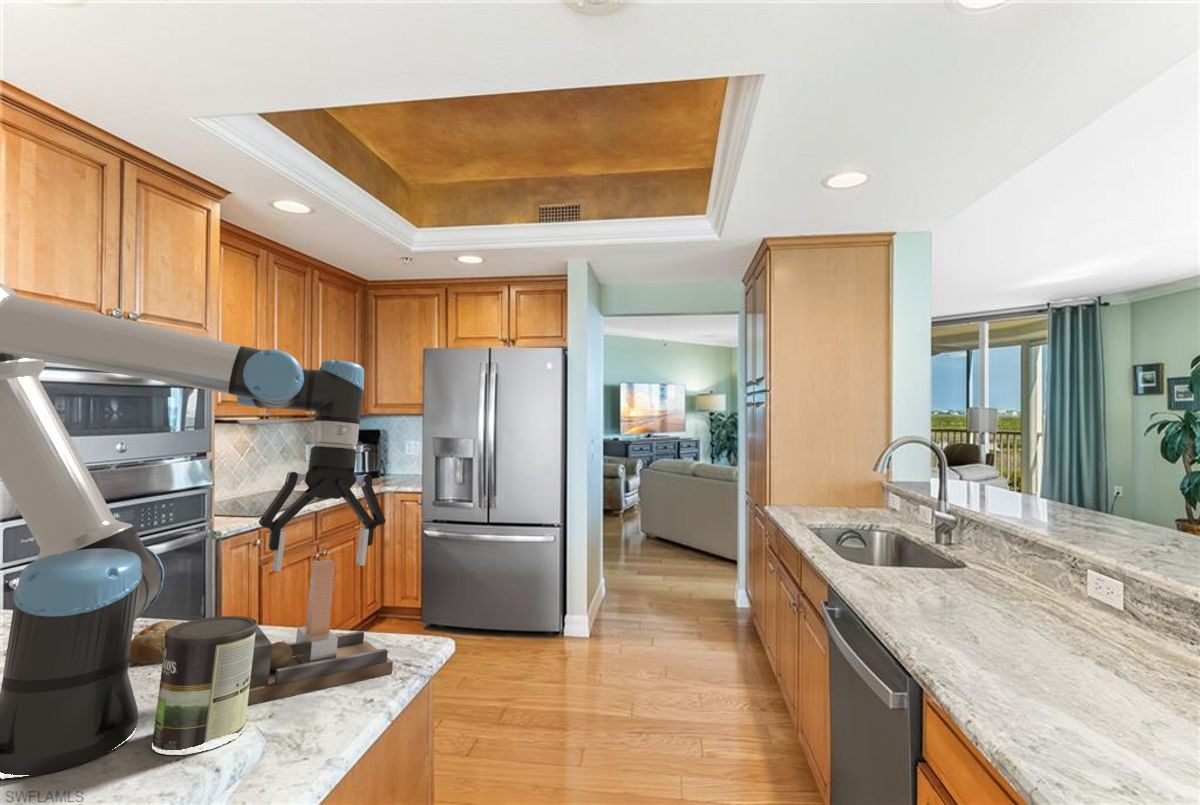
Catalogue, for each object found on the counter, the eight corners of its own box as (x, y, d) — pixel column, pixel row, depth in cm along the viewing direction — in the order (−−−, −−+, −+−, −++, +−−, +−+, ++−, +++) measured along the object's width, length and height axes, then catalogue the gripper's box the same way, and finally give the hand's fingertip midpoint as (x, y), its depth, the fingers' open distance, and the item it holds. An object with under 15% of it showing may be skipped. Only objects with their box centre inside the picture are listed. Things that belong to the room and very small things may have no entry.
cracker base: (245, 705, 81) (251, 649, 82) (231, 676, 92) (236, 627, 93) (391, 673, 96) (395, 626, 97) (365, 651, 106) (368, 608, 107)
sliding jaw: (309, 672, 89) (319, 567, 91) (294, 654, 96) (304, 558, 98) (335, 667, 92) (344, 565, 94) (319, 650, 99) (327, 556, 101)
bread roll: (144, 689, 94) (165, 647, 94) (105, 657, 97) (126, 616, 97) (196, 669, 104) (216, 631, 104) (159, 640, 106) (179, 603, 106)
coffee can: (151, 766, 65) (166, 643, 67) (150, 731, 73) (164, 622, 75) (252, 740, 72) (263, 629, 73) (241, 712, 79) (252, 612, 81)
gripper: (258, 440, 88) (240, 576, 85) (410, 451, 104) (398, 565, 101) (250, 441, 93) (233, 568, 90) (395, 450, 109) (384, 559, 107)
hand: (320, 567), depth 96 cm, fingers open, 13 cm apart
